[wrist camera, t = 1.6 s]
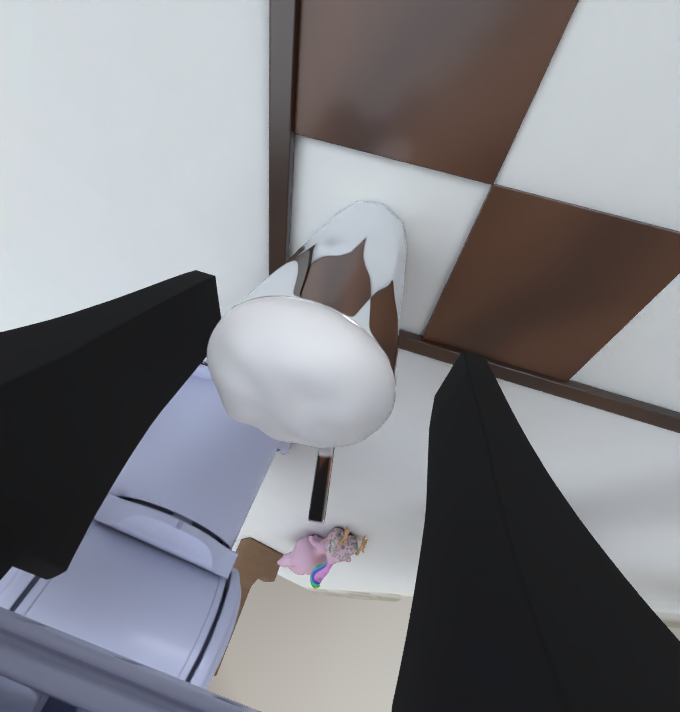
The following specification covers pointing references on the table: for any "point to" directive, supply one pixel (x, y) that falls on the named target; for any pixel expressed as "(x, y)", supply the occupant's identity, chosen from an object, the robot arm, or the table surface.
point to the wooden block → (253, 568)
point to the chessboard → (473, 161)
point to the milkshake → (319, 340)
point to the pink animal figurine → (321, 554)
